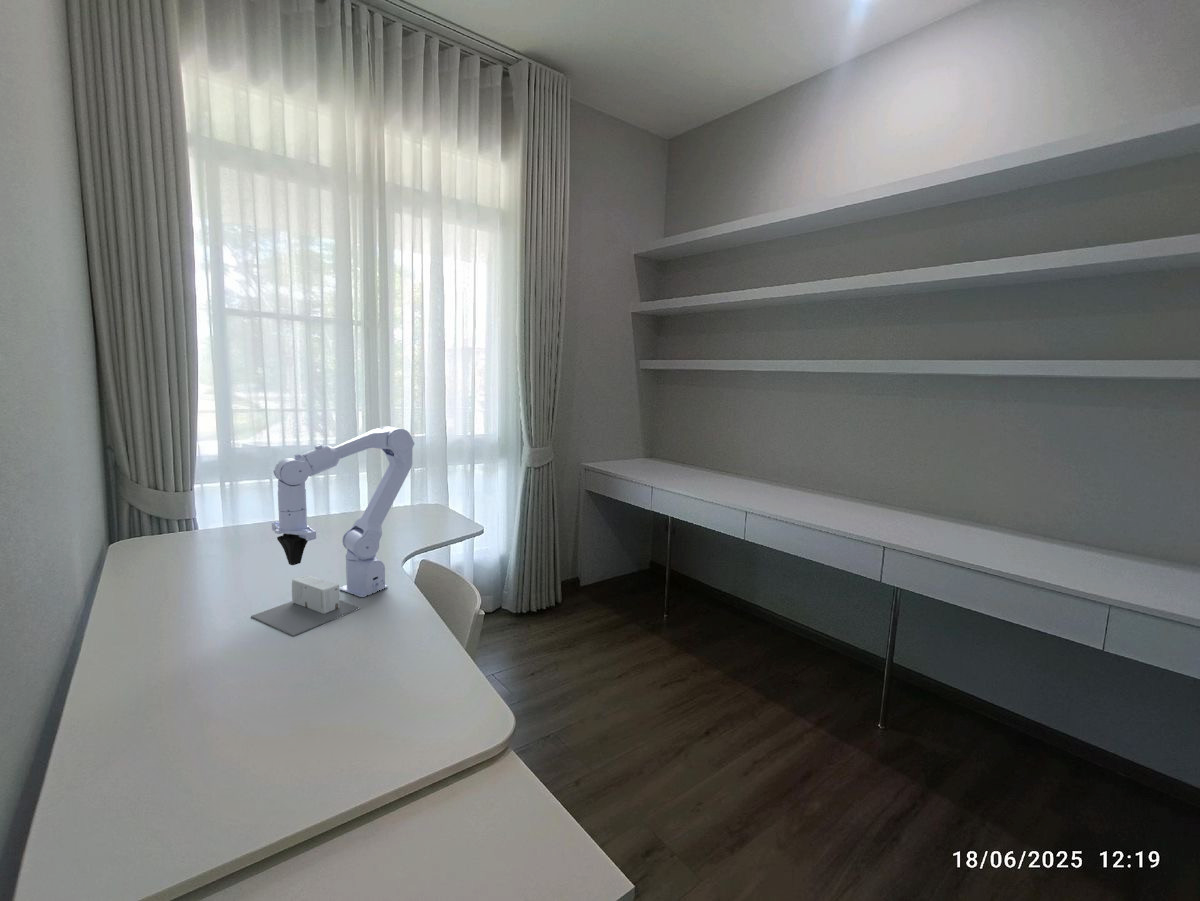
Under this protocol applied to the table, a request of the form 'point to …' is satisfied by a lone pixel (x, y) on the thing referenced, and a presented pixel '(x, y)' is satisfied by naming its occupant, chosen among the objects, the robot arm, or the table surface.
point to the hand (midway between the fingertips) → (294, 563)
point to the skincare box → (315, 594)
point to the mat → (300, 617)
